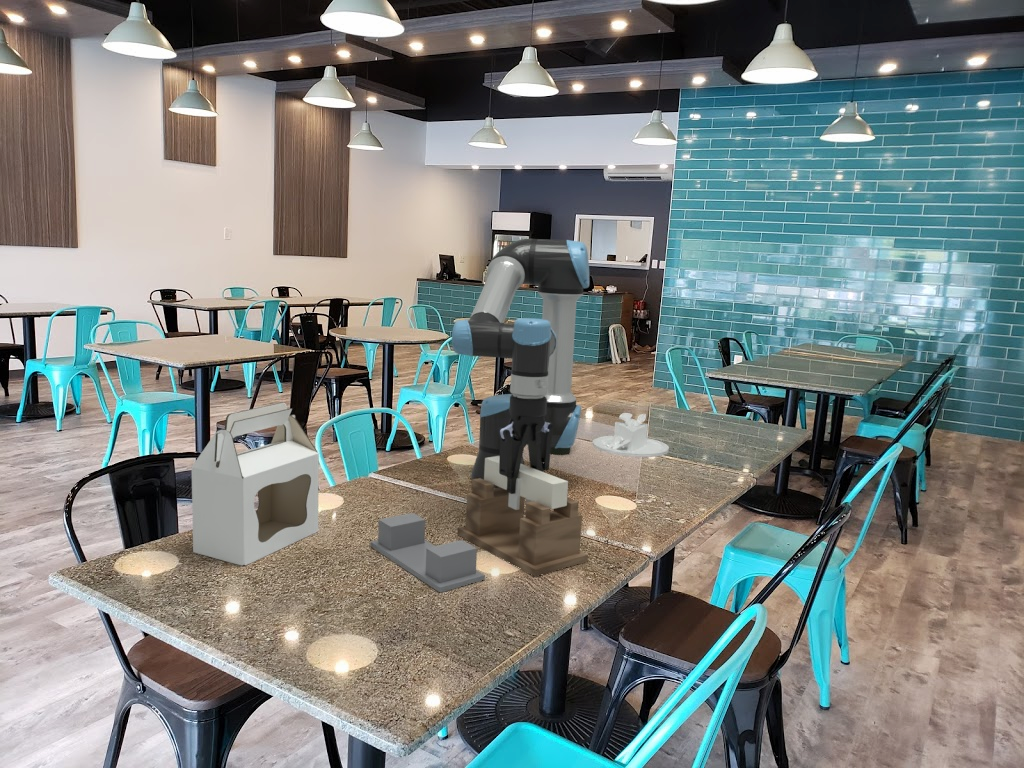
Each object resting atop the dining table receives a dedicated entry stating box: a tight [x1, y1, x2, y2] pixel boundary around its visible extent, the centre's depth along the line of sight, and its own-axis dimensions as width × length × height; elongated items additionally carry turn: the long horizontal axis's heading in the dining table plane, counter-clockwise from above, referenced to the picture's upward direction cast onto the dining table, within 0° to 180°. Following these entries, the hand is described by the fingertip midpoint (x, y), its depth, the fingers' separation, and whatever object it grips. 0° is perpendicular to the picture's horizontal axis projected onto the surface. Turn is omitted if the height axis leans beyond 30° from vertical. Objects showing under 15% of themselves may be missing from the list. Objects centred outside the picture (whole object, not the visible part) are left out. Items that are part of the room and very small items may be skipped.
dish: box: [591, 412, 670, 458], centre depth 250 cm, size 25×25×11 cm
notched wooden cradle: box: [457, 478, 589, 577], centre depth 159 cm, size 26×14×12 cm, turn 39°
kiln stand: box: [369, 512, 486, 593], centre depth 149 cm, size 26×10×6 cm, turn 39°
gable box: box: [191, 401, 320, 567], centre depth 154 cm, size 22×13×28 cm, turn 155°
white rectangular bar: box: [484, 456, 569, 510], centre depth 157 cm, size 22×4×5 cm, turn 39°
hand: (522, 505), depth 158 cm, fingers closed on white rectangular bar, 4 cm apart
